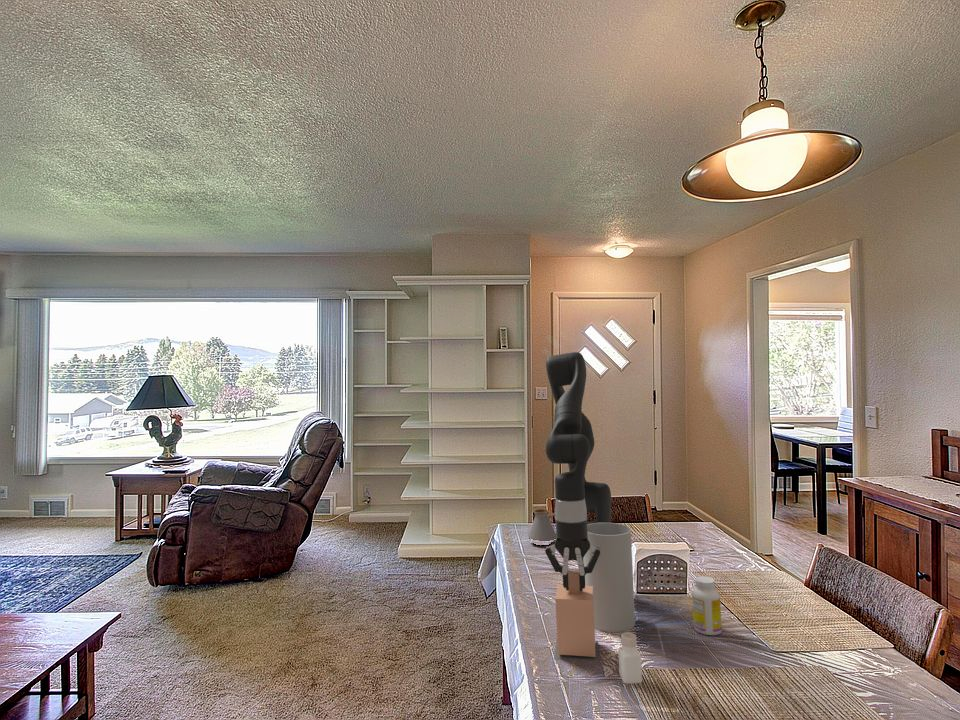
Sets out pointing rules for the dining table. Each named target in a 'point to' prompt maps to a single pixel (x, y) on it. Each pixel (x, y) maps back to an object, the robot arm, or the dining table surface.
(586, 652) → the orange square bottle
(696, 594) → the supplement bottle
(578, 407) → the robot arm
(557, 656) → the mat
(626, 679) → the salt shaker
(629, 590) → the cylinder vase
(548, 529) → the coffee pot
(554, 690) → the dining table surface
